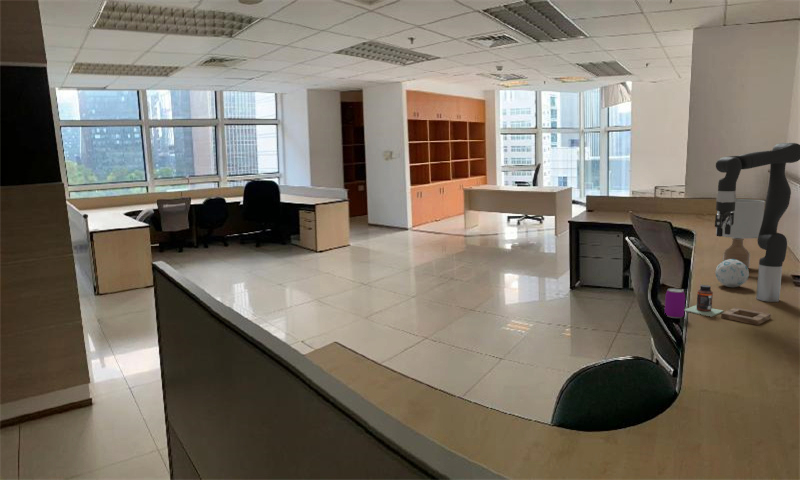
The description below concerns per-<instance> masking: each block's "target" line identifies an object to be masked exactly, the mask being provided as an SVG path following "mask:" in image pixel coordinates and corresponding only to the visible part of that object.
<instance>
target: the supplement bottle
mask: <svg viewBox="0 0 800 480" xmlns="http://www.w3.org/2000/svg"><path fill="white" fill-rule="evenodd" d="M699 288H700V289H698V290H697V297H696V305H697V309H698V310H700V311H711V309H712V308H713V296H714V295H713V294H714V293H713V291H712V290H711V288H712V287H711V285H708V284H701V285H700V287H699Z"/></svg>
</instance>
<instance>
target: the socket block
mask: <svg viewBox="0 0 800 480" xmlns="http://www.w3.org/2000/svg"><path fill="white" fill-rule="evenodd" d="M720 315H721V316H720V318H721V319H727V320H731V321H734V322H735V321H737V322H741V323H745V324H751V325H754V326H758V325H761V324H763V323H764V322H767V321H768V320H770V319H771V315H772V314H771V313H766V312H762V311H761V312H760V311H757V310H751V309H746V308H741V307H735V306H734V307H732V308H731V309H730V308H729V309H728V310H725V311H724V312H722V313H720Z"/></svg>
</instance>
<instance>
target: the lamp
mask: <svg viewBox="0 0 800 480" xmlns="http://www.w3.org/2000/svg"><path fill="white" fill-rule="evenodd" d="M765 204H766V200H761V199H745V198H744V199H743V198H742V199H740V198H739V199H738V198H736V202H735V211H732V212H734V224H733V225H732V226H731V231H730V234H729V235H727V234H725V225H724V226H723V228H722V229H723V235H722V236H721V237H725V238H731V239H732V241H731V242H732V243H731V245H730V246H729V247H727V248H726V249H724V252H723V258H722V261H724V260H729V259H735V260H738V261H741V262H742V263H744V264H745V265H746V266H747V268H750V261H751V253H750V252H749V250H748V249H747V248H745V246H744V239H758V235H759V231H760V228H761V225H762V221H763V215H764V210H765ZM719 213H720V212H719V211H717V213H716V214H719ZM715 236H717V228H716V227H715Z"/></svg>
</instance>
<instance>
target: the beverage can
mask: <svg viewBox="0 0 800 480" xmlns="http://www.w3.org/2000/svg"><path fill="white" fill-rule="evenodd" d="M685 305H686V295H685V291H684V289H682V288H674V287H673V288H671V287H670V288H667V290H666V293H665V298H664V314H665V313H666V315H667V316H666V315H665V316H666V317H668V318H672V319H682V318H683V317H684V316H685V311H684V310H685V309H686V308H685V307H686V306H685Z"/></svg>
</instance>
